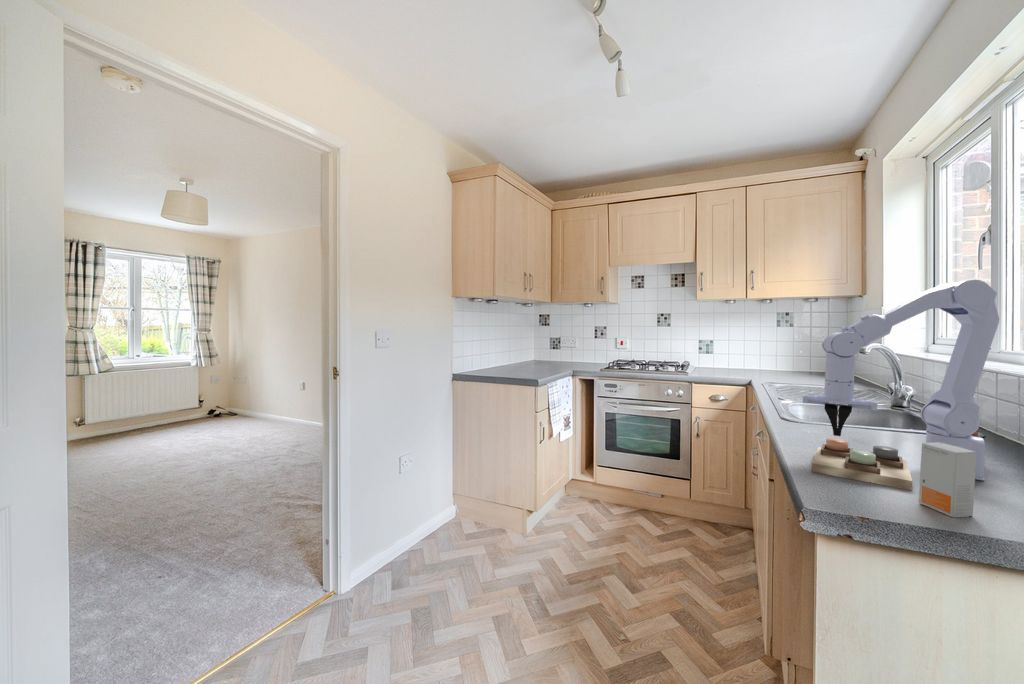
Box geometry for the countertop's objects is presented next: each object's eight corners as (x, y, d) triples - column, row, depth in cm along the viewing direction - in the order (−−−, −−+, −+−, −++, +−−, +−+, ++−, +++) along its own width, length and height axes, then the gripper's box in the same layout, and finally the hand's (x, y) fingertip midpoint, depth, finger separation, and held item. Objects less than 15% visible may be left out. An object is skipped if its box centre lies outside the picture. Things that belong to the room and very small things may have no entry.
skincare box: (917, 503, 81) (920, 442, 80) (937, 502, 81) (940, 441, 81) (953, 518, 75) (956, 452, 74) (974, 517, 75) (978, 451, 75)
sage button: (875, 460, 95) (875, 452, 95) (875, 465, 92) (875, 457, 92) (850, 456, 98) (850, 449, 98) (849, 461, 95) (850, 453, 94)
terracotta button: (848, 447, 105) (848, 440, 105) (847, 451, 102) (848, 444, 102) (826, 444, 108) (826, 437, 108) (825, 448, 105) (825, 440, 105)
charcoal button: (897, 455, 99) (897, 448, 98) (898, 460, 95) (898, 452, 95) (872, 451, 101) (872, 444, 101) (872, 456, 98) (873, 448, 98)
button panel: (906, 468, 100) (907, 455, 100) (911, 490, 87) (912, 475, 87) (818, 454, 111) (818, 442, 110) (811, 471, 98) (812, 458, 98)
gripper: (801, 380, 106) (800, 433, 106) (878, 385, 96) (875, 444, 97) (805, 377, 111) (803, 427, 112) (877, 382, 102) (875, 437, 102)
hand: (837, 435), depth 105 cm, fingers closed
